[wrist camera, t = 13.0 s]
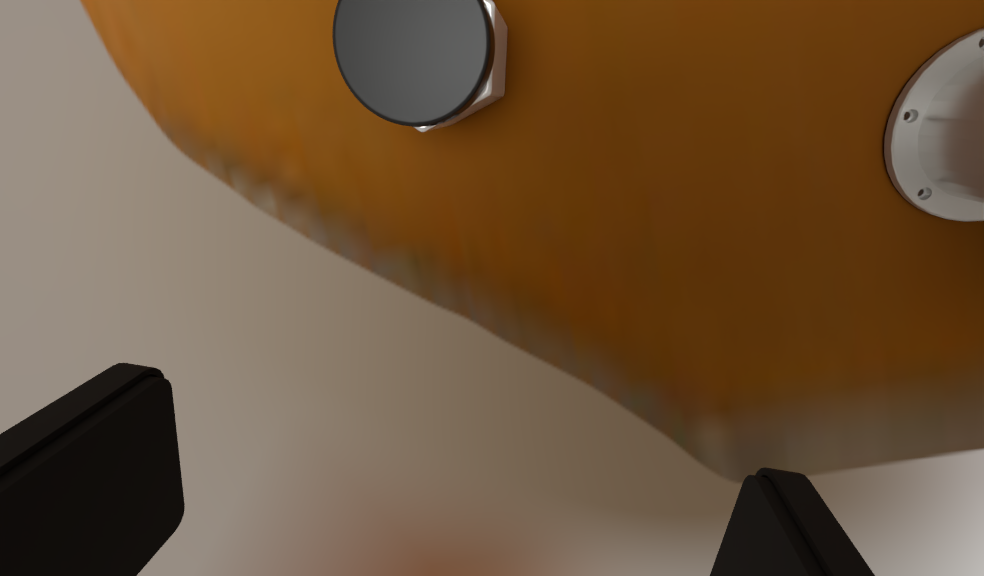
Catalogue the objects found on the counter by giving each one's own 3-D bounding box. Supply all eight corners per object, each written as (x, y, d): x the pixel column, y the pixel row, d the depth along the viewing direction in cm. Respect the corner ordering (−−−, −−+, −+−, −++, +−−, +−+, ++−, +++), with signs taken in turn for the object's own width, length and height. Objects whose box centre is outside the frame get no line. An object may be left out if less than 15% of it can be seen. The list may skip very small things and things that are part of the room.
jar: (371, 75, 38) (297, 65, 27) (426, -34, 35) (369, -96, 24) (474, 144, 39) (444, 162, 28) (535, 43, 36) (529, 17, 25)
